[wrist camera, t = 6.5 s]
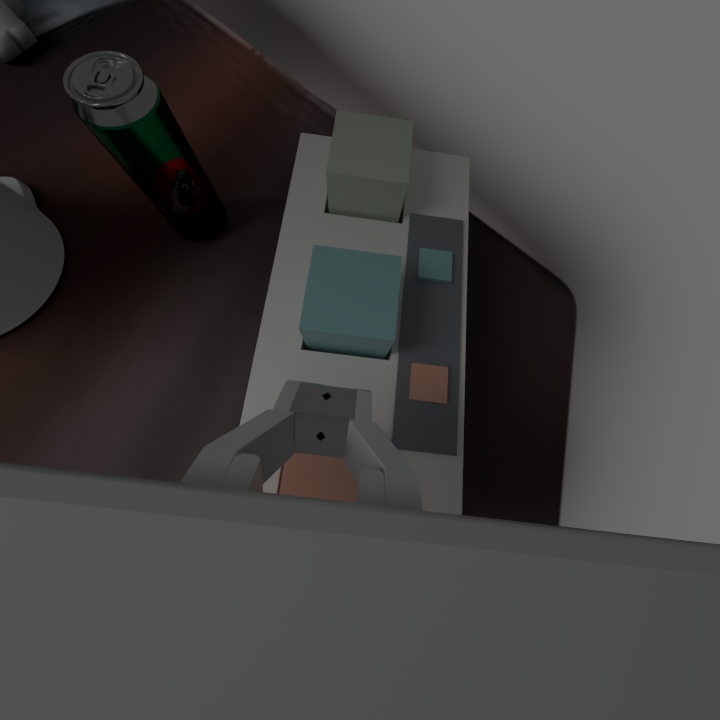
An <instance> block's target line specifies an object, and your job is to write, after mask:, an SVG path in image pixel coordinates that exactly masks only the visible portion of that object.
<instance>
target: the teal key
mask: <svg viewBox="0 0 720 720" xmlns="http://www.w3.org/2000/svg"><path fill="white" fill-rule="evenodd" d="M401 264H402V256H396V255H388V254H381V253H373V252H366V251H358V250H351V249H343V248H335V247H328V246H320V245H313V250H312V255H311V261H310V267H309V273H308V278H307V284H306V290H305V296H304V301H303V307H302V313H301V318H300V324H299V331H300V333H301V335H302V337H303V339H304V342H305V344H306V346H307V348H308V350H309V351H317V352H325V353H333V354H341V355H350V356H358V357H366V358H374V359H382V360H384V359H385V357H386V355H387V353H388V352H389V350H390V348H391V347H392V345H393V343H394V342H395V334H396V323H397V311H398V299H399V288H400V276H401Z"/></svg>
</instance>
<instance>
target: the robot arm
mask: <svg viewBox="0 0 720 720" xmlns="http://www.w3.org/2000/svg"><path fill="white" fill-rule="evenodd" d="M63 264H64V246H63V241H62V238H61V235H60V233H59V231H58V230H57V228H56V226H55V225H54V224H53V223H52V222H51V220H50V219H48V218H47V217H46V216H45V215H44V214H43V213H42V212H41V211H40V210H39V209H38V208H37V206H36V203H35V200H34V196H33V194H32V191H31V190H30V188H29V187H28V186H26V185H25V184H23V183H22V182H20V181H19V180H17V179H15V178H13V177H0V335H2V334H4V333H6V332H8V331H10V330H12V329H13V328H15V327H17V326H18V325H20V324H21V323H23V322H24V321H25V320H27V319H28V318H29V317H30V316H32V315H33V314H34V313H35V312H36V311H37V310H38V309H39V308H40V307H41V306H42V305H43V304H44V303H45V301H46V300H47V299H48V298H49V296H50V295H51V293H52V292H53V290H54V288H55V287H56V285H57V283H58V280H59V278H60V275H61V272H62V269H63ZM294 453H301V454H312V455H321V456H328V457H335V458H342V459H344V462H345V464H346V466H347V468H348V470H349V472H350V474H351V476H352V478H353V480H354V482H355V484H356V486H357V489H356V494H355V498H354V503H353V502H344V501H336V500H327V499H318V498H310V497H301V496H292V495H284V494H275V493H266V492H263V484H264V483H265V482H266V481H267V480H268V479H269V478H270V477H271V476H272V475H273V474H274V473H275V472H276V471H277V470H278V469H279V468H280V467H281V466H282V465H283V464H284V463H286V462H287V461H288V460H289V459H290V458H291V457H292V456H293V455H294ZM0 720H720V544H709V543H701V542H692V541H684V540H675V539H666V538H657V537H648V536H639V535H631V534H622V533H613V532H605V531H595V530H587V529H579V528H570V527H561V526H553V525H544V524H535V523H527V522H518V521H509V520H501V519H492V518H483V517H475V516H466V515H457V514H449V513H440V512H431V511H423V509H422V502H421V496H420V489H419V483H418V476H417V473H416V471H415V470H414V469H413V468H412V466H411V465H410V464H409V463H408V462H407V460H406V459H405V458H404V457H403V455H402V454H401V453H400V452H399V451H398V449H397V448H396V447H395V446H394V444H393V443H392V442H391V441H390V440H389V438H388V437H387V436H386V435H385V433H384V432H383V431H382V430H381V429H380V427H379V426H378V425H377V424H376V423H375V422H371V390H365V389H352V388H344V387H336V386H329V385H323V384H316V383H309V382H303V381H302V382H301V381H295V380H287V381H286V382H285V384H284V386H283V388H282V390H281V392H280V395H279V397H278V399H277V401H276V403H275V405H274V408H273V409H268V410H266V411H264V412H262V413H261V414H259V415H257V416H256V417H254V418H252V419H251V420H249V421H247V422H246V423H244V424H242V425H240V426H239V427H237V428H235V429H234V430H232V431H230V432H229V433H227V434H225V435H223V436H222V437H220V438H218V439H217V440H215V441H213V442H212V443H210V444H208V445H207V446H205V447H204V448H203V449H202V451H201V452H200V454H199V455H198V457H197V458H196V460H195V461H194V463H193V464H192V466H191V467H190V469H189V470H188V472H187V473H186V475H185V476H184V478H183V479H182V481H181V482H180V483H179V482H170V481H162V480H153V479H144V478H136V477H127V476H118V475H110V474H101V473H92V472H83V471H75V470H66V469H57V468H49V467H40V466H31V465H22V464H14V463H5V462H0Z"/></svg>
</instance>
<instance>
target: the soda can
mask: <svg viewBox="0 0 720 720" xmlns="http://www.w3.org/2000/svg"><path fill="white" fill-rule="evenodd" d="M63 85H64V88H65V90H66V92H67V94H68V95H69V96H70V97H71V98H72V102H73V106H74V110H75V112H76V114H77V115H78V117H79V118H80V119H81V120H82V121H83V123H84V124H85V125H86V126H87V127H88V128H89V130H90V131H91V132H92V133H93V134H94V136H95V137H96V138H97V139H98V140H99V141H100V143H101V144H102V145H103V146H104V147H105V148H106V150H107V151H108V152H109V153H110V154H111V155H112V157H113V158H114V159H115V160H116V161H117V162H118V164H119V165H120V166H121V167H122V168H123V169H124V171H125V172H126V173H127V174H128V175H129V176H130V178H131V179H132V180H133V181H134V182H135V183H136V185H137V186H138V187H139V188H140V189H141V190H142V192H143V193H144V194H145V195H146V196H147V197H148V199H149V200H150V201H151V202H152V203H153V205H154V206H155V207H156V208H157V209H158V210H159V212H160V213H161V214H162V215H163V216H164V217H165V219H166V220H167V221H168V222H169V223H170V224H171V226H172V227H173V228H174V229H175V230H176V231H177V233H178V234H179V235H181V236H182V237H184V238H186V239H188V240H192V241H206V240H210V239H212V238H214V237H216V236H217V235H218V234H219V233H220V232H221V231H222V230H223V228H224V226H225V224H226V220H227V215H226V211H225V208H224V207H223V205H222V203H221V201H220V199H219V198H218V196H217V194H216V192H215V190H214V188H213V187H212V185H211V183H210V181H209V179H208V177H207V176H206V174H205V172H204V170H203V168H202V166H201V165H200V163H199V161H198V159H197V157H196V155H195V154H194V152H193V150H192V148H191V146H190V144H189V143H188V141H187V139H186V137H185V135H184V133H183V132H182V130H181V128H180V126H179V124H178V122H177V121H176V119H175V117H174V115H173V113H172V111H171V110H170V108H169V106H168V104H167V102H166V100H165V99H164V97H163V95H162V93H161V91H160V89H159V88H158V86H157V84H156V83H155V81H154V80H153V79H152V78H151V77H149V76H148V75H147V74H146V73H144V72H143V71H142V69H141V67H140V66H139V65H138V63H137V62H136V61H135V60H134V59H133V58H131V57H130V56H128V55H126V54H123V53H120V52H116V51H97V52H92V53H89V54H86V55H84V56H81V57H80V58H78V59H76V60H75V61H74V62H72V63H71V64H70V65H69V67H68V68H67V69H66V71H65V73H64V76H63Z"/></svg>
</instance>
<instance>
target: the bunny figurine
mask: <svg viewBox="0 0 720 720" xmlns="http://www.w3.org/2000/svg"><path fill="white" fill-rule="evenodd" d="M26 9H27V8H26V7H25V6H24V4H23V3H22V1H21V0H0V62H2V63H7V62H9V61H12V60H13V59H14V58H16V57H17V56H18V55H20V54H21V53H22V52H23V51H24V50H25V49H28V48H30V47H31V46H32V45H34V44H35V43H36V42H38V40H37V39H36V37H35V36H34V35H33V34H32V32H31V31H30V30H29V28H28V27H27V26H26V24H25V23H24V22H23V21H21V20H20V19H21V18H22V16H23V14H24V12H25V11H26Z"/></svg>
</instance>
